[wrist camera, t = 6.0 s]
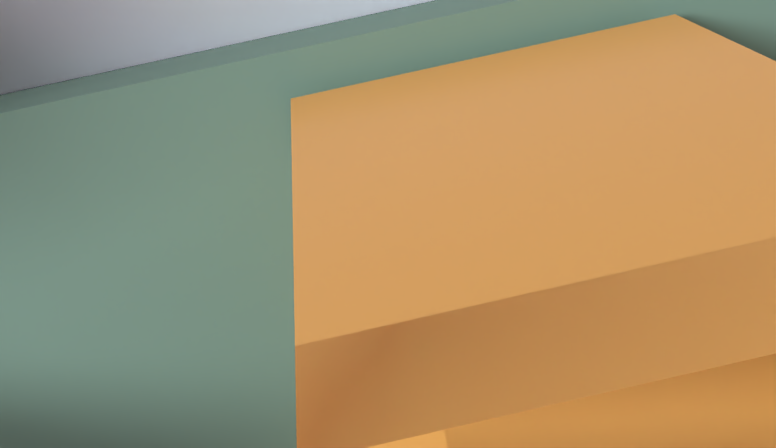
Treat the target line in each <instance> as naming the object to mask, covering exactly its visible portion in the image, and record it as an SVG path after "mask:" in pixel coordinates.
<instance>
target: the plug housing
mask: <svg viewBox="0 0 776 448" xmlns="http://www.w3.org/2000/svg"><path fill="white" fill-rule="evenodd" d="M291 152H292V209H293V266H294V322H295V379H296V436H297V448H776V61H774V60H772V59H770V58H768V57H766V56H764V55H761V54H759V53H757V52H755V51H753V50H751V49H749V48H746V47H744V46H742V45H740V44H738V43H736V42H734V41H731V40H729V39H727V38H725V37H723V36H721V35H719V34H716V33H714V32H712V31H710V30H708V29H706V28H704V27H701V26H699V25H697V24H695V23H693V22H691V21H689V20H686V19H684V18H682V17H680V16H678V15H676V14H674V15H669V16H664V17H660V18H655V19H651V20H646V21H642V22H637V23H633V24H628V25H623V26H619V27H614V28H610V29H605V30H601V31H596V32H592V33H587V34H582V35H578V36H573V37H569V38H564V39H560V40H555V41H551V42H546V43H541V44H537V45H532V46H528V47H523V48H519V49H514V50H510V51H505V52H501V53H496V54H491V55H487V56H482V57H478V58H473V59H469V60H464V61H460V62H455V63H450V64H446V65H441V66H437V67H432V68H428V69H423V70H419V71H414V72H409V73H405V74H400V75H396V76H391V77H387V78H382V79H378V80H373V81H368V82H364V83H359V84H355V85H350V86H346V87H341V88H337V89H332V90H328V91H323V92H318V93H314V94H309V95H305V96H300V97H296V98H291Z"/></svg>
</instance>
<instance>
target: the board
mask: <svg viewBox="0 0 776 448" xmlns="http://www.w3.org/2000/svg"><path fill="white" fill-rule="evenodd" d="M674 14H676V15H678V16H680V17H682V18H684V19H686V20H689V21H691V22H693V23H695V24H697V25H699V26H701V27H704V28H706V29H708V30H710V31H712V32H714V33H716V34H719V35H721V36H723V37H725V38H727V39H729V40H731V41H734V42H736V43H738V44H740V45H742V46H744V47H746V48H749V49H751V50H753V51H755V52H757V53H759V54H761V55H764V56H766V57H768V58H770V59H772V60H774V61H776V0H435V1H431V2H426V3H421V4H417V5H412V6H408V7H403V8H398V9H394V10H389V11H385V12H380V13H376V14H371V15H366V16H362V17H357V18H353V19H348V20H343V21H339V22H334V23H330V24H325V25H320V26H316V27H311V28H307V29H302V30H297V31H293V32H288V33H284V34H279V35H274V36H270V37H265V38H261V39H256V40H252V41H247V42H242V43H238V44H233V45H229V46H224V47H219V48H215V49H210V50H206V51H201V52H196V53H192V54H187V55H183V56H178V57H173V58H169V59H164V60H160V61H155V62H150V63H146V64H141V65H137V66H132V67H128V68H123V69H118V70H114V71H109V72H105V73H100V74H95V75H91V76H86V77H82V78H77V79H72V80H68V81H63V82H59V83H54V84H49V85H45V86H40V87H36V88H31V89H26V90H22V91H17V92H13V93H8V94H4V95H0V448H297V436H296V379H295V322H294V266H293V209H292V152H291V98H296V97H300V96H305V95H309V94H314V93H318V92H323V91H328V90H332V89H337V88H341V87H346V86H350V85H355V84H359V83H364V82H368V81H373V80H378V79H382V78H387V77H391V76H396V75H400V74H405V73H409V72H414V71H419V70H423V69H428V68H432V67H437V66H441V65H446V64H450V63H455V62H460V61H464V60H469V59H473V58H478V57H482V56H487V55H491V54H496V53H501V52H505V51H510V50H514V49H519V48H523V47H528V46H532V45H537V44H541V43H546V42H551V41H555V40H560V39H564V38H569V37H573V36H578V35H582V34H587V33H592V32H596V31H601V30H605V29H610V28H614V27H619V26H623V25H628V24H633V23H637V22H642V21H646V20H651V19H655V18H660V17H664V16H669V15H674Z"/></svg>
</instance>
